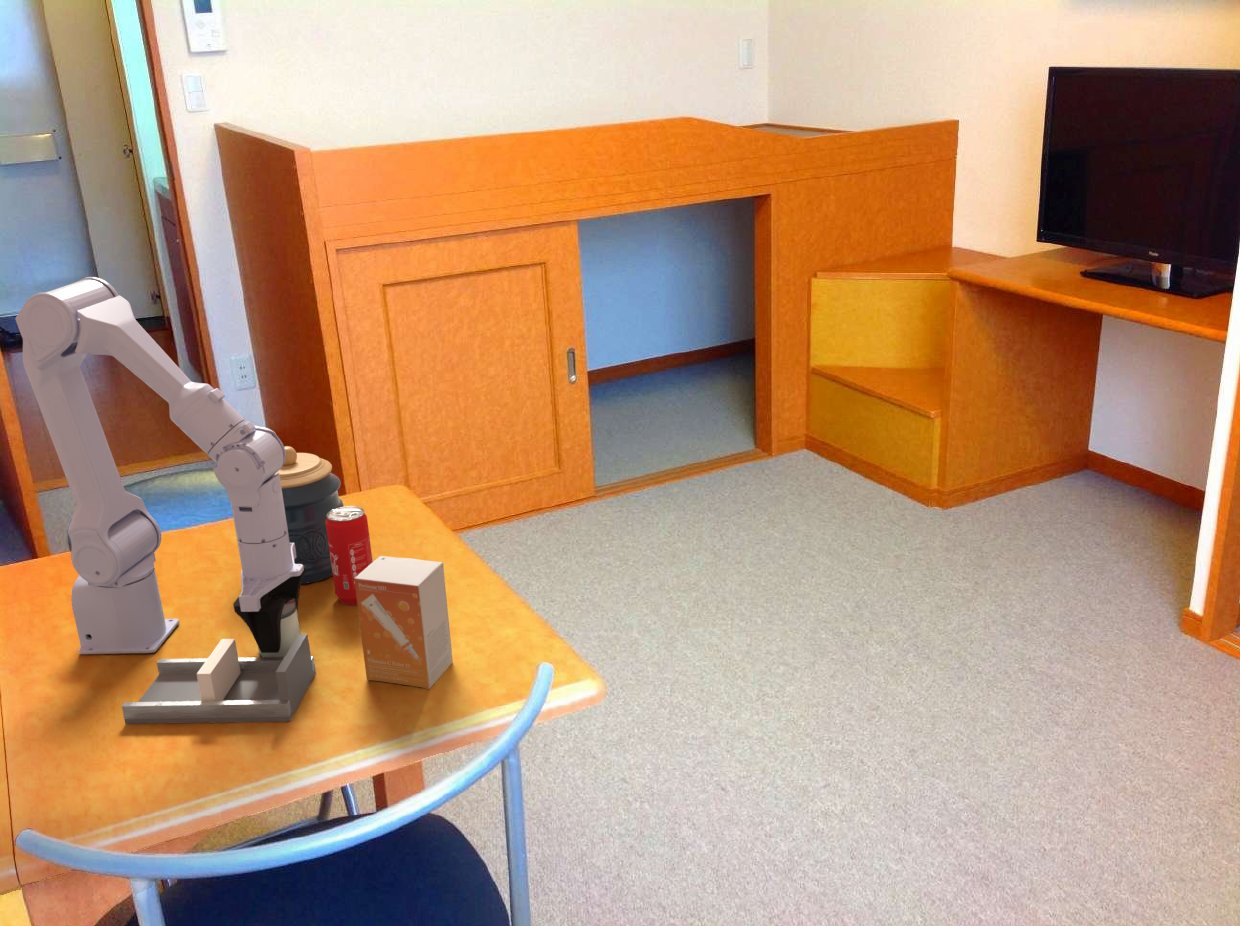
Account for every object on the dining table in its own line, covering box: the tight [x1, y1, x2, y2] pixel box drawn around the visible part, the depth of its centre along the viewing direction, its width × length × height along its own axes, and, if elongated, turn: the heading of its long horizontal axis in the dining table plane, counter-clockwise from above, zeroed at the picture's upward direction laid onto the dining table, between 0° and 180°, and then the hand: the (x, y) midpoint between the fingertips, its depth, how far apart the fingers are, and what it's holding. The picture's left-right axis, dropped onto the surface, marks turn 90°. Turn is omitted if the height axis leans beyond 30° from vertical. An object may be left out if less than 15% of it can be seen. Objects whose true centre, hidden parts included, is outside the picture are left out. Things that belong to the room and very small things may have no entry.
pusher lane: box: [121, 632, 317, 725], centre depth 129 cm, size 18×10×6 cm, turn 88°
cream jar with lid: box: [257, 594, 301, 657], centre depth 139 cm, size 5×5×6 cm
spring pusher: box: [197, 638, 241, 701], centre depth 129 cm, size 2×8×4 cm, turn 178°
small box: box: [354, 555, 453, 690], centre depth 131 cm, size 8×6×13 cm
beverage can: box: [326, 505, 373, 606], centre depth 150 cm, size 5×5×12 cm
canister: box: [274, 445, 345, 585], centre depth 158 cm, size 13×13×18 cm
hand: (279, 637), depth 139 cm, fingers open, 6 cm apart
